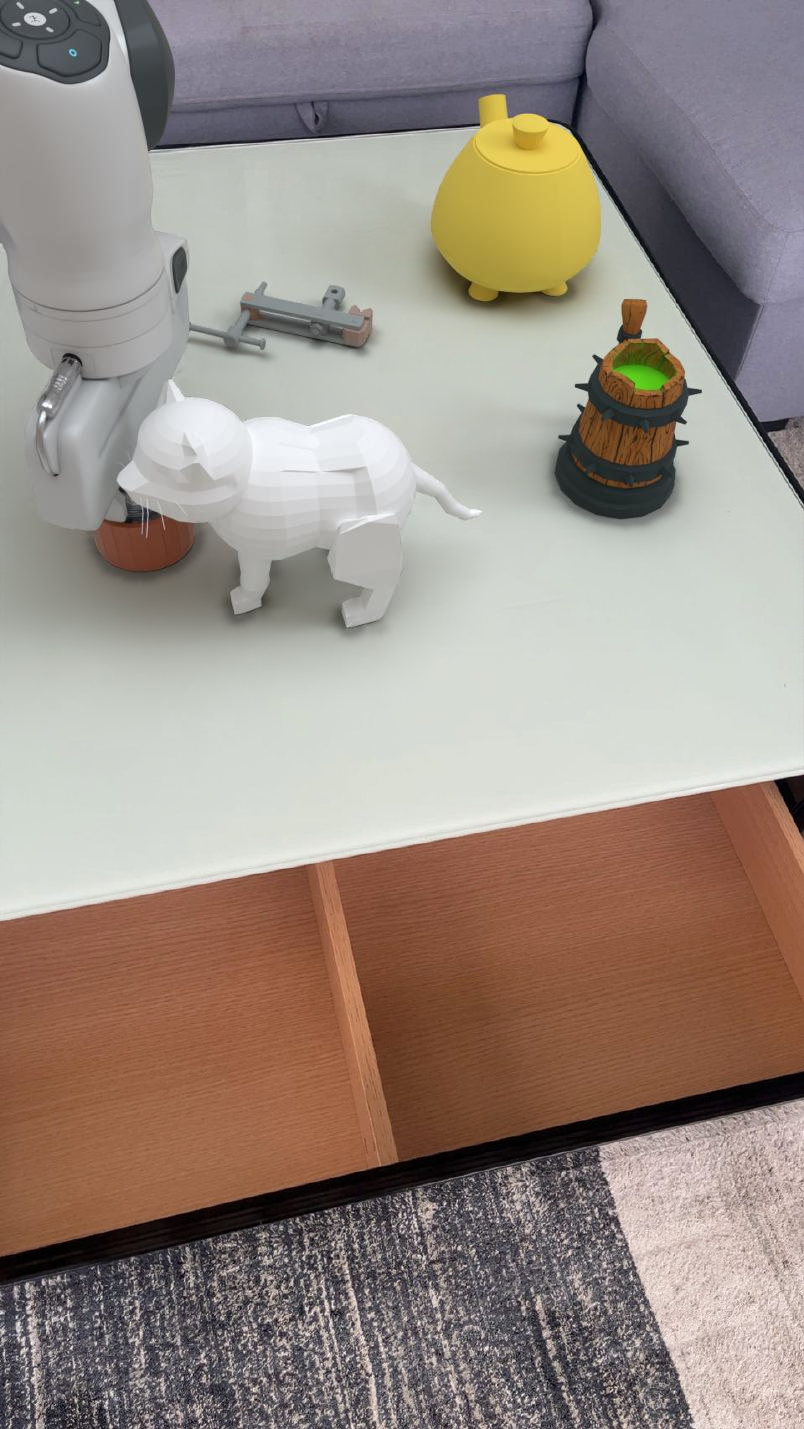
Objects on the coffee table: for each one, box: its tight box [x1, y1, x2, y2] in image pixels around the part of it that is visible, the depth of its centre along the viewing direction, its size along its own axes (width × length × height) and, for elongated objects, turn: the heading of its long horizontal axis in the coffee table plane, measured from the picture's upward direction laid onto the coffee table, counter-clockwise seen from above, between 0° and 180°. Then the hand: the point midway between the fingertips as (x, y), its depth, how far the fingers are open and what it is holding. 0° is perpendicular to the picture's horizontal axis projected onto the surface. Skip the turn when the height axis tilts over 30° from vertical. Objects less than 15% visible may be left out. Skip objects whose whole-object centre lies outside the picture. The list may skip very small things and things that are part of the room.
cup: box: [91, 515, 196, 572], centre depth 78 cm, size 7×7×4 cm
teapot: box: [430, 93, 602, 302], centre depth 97 cm, size 20×16×14 cm
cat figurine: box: [115, 378, 483, 628], centre depth 71 cm, size 25×10×17 cm, turn 106°
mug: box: [554, 298, 703, 520], centre depth 82 cm, size 13×10×12 cm
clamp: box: [189, 281, 374, 351], centre depth 93 cm, size 15×2×10 cm
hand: (133, 481), depth 75 cm, fingers closed on pill bottle, 5 cm apart
